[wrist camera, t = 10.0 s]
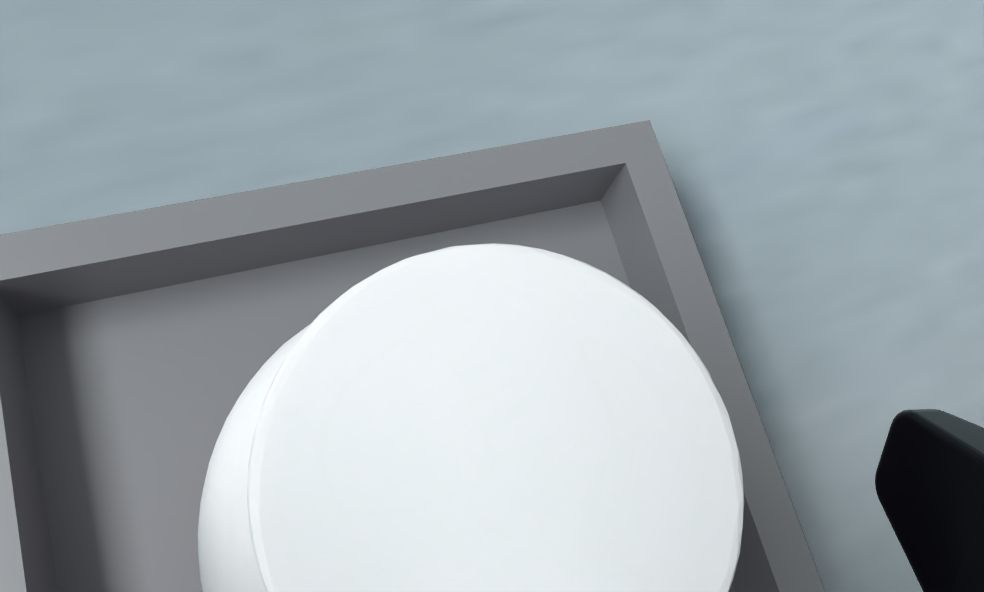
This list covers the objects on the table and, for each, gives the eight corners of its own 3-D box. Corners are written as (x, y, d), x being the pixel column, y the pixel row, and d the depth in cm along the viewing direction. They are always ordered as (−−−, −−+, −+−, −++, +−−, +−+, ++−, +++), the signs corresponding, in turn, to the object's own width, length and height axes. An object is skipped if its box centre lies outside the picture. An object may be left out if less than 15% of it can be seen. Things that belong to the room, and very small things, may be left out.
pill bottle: (459, 356, 18) (608, 76, 8) (608, 612, 16) (961, 603, 7) (192, 498, 16) (21, 336, 7) (338, 793, 15) (365, 1070, 6)
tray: (85, 1107, 14) (36, 1208, 11) (-21, 298, 17) (-74, 248, 15) (832, 802, 17) (914, 832, 14) (612, 177, 20) (649, 120, 18)
